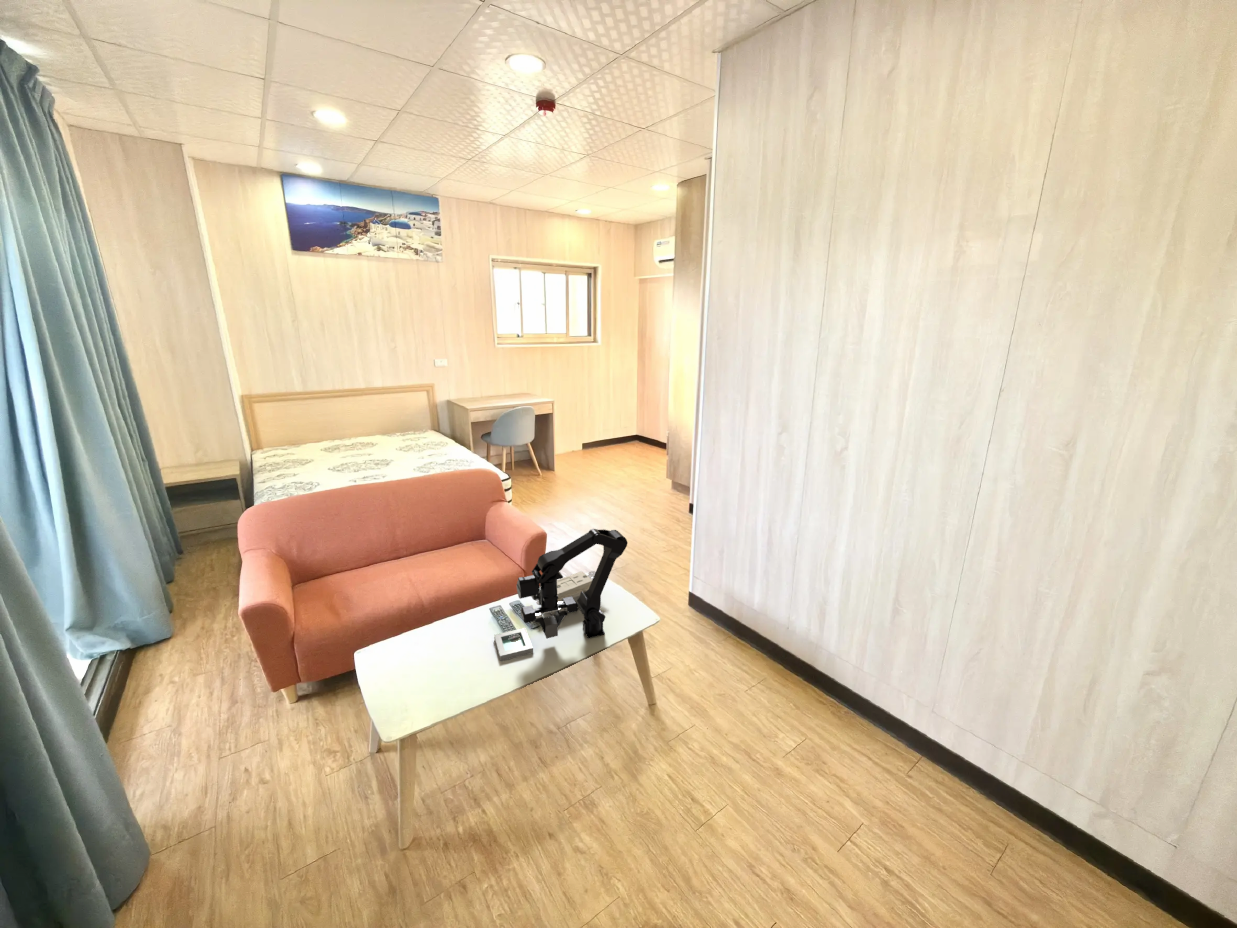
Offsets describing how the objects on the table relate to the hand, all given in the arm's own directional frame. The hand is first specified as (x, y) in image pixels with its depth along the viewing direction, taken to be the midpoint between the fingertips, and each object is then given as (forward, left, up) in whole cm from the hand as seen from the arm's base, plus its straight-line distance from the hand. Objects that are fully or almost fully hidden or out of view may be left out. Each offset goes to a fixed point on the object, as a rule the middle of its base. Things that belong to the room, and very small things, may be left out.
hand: (550, 630), depth 167 cm
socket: (+12, -3, -5) cm, 14 cm away
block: (0, 0, -1) cm, 1 cm away
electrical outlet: (-13, -21, -6) cm, 25 cm away
